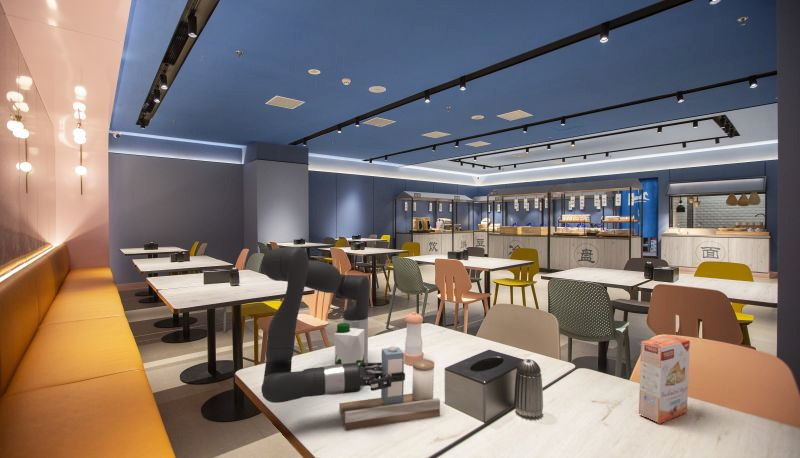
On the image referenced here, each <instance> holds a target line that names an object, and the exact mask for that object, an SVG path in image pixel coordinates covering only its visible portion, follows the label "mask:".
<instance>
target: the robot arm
mask: <svg viewBox="0 0 800 458" xmlns="http://www.w3.org/2000/svg"><path fill="white" fill-rule="evenodd" d="M261 267H262V270H263V272H264V274H265V275H266V276H267V278H269V279H270V280H272V281H275V282H276V281H277V282H287V286H286V292H285V294H284V297H283V299H282V301H281V303H280V304H279V307H278V308H277V310H276V312H275V313H274V315H273V316H272V319H271V320H270V323H269V326H268V330H267V335H266V336H267V337H266V345H265V367H264V373H263V374H264V375H263V380H262V384H261V394H262V396H263V398H264V399H265V400H266V401H267V402H270V403H274V404H276V403H286V402H290V401H294V400H299V399H302V398H309V397H311V398H312V397H319V396H336V395H337V396H338V395H344V394H345V395H346V394H353V393H358V392H359V391H360V390H361V387H362V386H364V387H370V391H371V392H374V391H379V390H381V389H383V388H387V387H391V383H392V382H398V381H405V380H406V373H405V371H404V372H399V373H383V371H382V362H369V361H368V360H369V355H368V354H369V343H368V342H369V340H368V339H369V334H368V333H369V309H370V295H371V294H370V293H371V292H370V291H371V284H370V282H371V281H370V280H369V277H368V276H366V275H361V274H358V275H357V274H342V273H341V272H340V270H339V269H338V268H337V267H336V266H334V265H332V264H329V263H327V262H324V261H319V260H311V259H310V260H309V255H308V253H307V250H305V249H304V248H303V247H299V246H288V247H286V246H285V247H276V248H272V249H270V250H268V251H267V252H266V253H265V254H264V255H263V258H262V260H261ZM305 288H308V289H311V290H314V291H318V292H321V293H325V294H335V295H336V296H338V297H340V298H342V299H345V300H352V301H355V305H354V306H352V307H349V308H346V309H345V310H343V312H342V313H343V315H342V316H343V317H342V319H343V320H342V323H348V324H350V328H357V329H364V363H361V368H359V365H358V363H347V364H336V365H335V364H331V365H326V366H318V367H310V368H306V369H305V368H304V369H303V370H297V371H292V363H293V362H292V360H293V357H294V351H295V344H296V343H295V340H296V329H297V324H298V323H297V321H298V316H299V312H300V307H301V303H302V299H303V296H304V292H305Z"/></svg>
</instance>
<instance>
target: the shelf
mask: <svg viewBox="0 0 800 458" xmlns="http://www.w3.org/2000/svg"><path fill="white" fill-rule="evenodd" d="M338 405H339V409H338V410H339V411H338V412H339V413H340V417H341V420H342V424H343V427H344V430H345V431H346V432H347V431H352V430H359V429H365V428H372V427H376V426H384V425H390V424H397V423H404V422H411V421H415V420H424V419H428V418H429V419H430V418H434V417H435V418H436V417H440V416H441V400H440V398H438V397H436V398H433V399H429V400H422V401H415V402H412V393H406V394H403V403H401V404H394V405H387V406H385V404H384V402H383V400H382V398H381V397H377V398H367V399H362V400H354V401H347V402H339V404H338Z"/></svg>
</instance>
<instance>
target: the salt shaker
mask: <svg viewBox="0 0 800 458" xmlns="http://www.w3.org/2000/svg"><path fill="white" fill-rule="evenodd" d="M423 321H424V317H423V316H422V315H421V314H419V313H417V312H415V311H412V312H411V313H408V314H405V316H404V322H405V323H406V335H405V343H404V352H403V353H404V364H405V365H408V366H413V361H414V360H417V359H424V352H423V338H422V323H423Z"/></svg>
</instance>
